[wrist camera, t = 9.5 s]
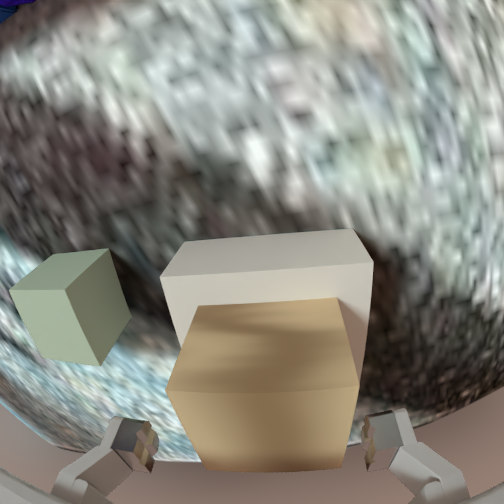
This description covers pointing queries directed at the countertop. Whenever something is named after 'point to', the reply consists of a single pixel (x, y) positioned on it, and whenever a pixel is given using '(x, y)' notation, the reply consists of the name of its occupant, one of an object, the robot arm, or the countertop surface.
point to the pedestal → (274, 276)
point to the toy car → (10, 7)
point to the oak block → (266, 386)
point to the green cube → (73, 306)
